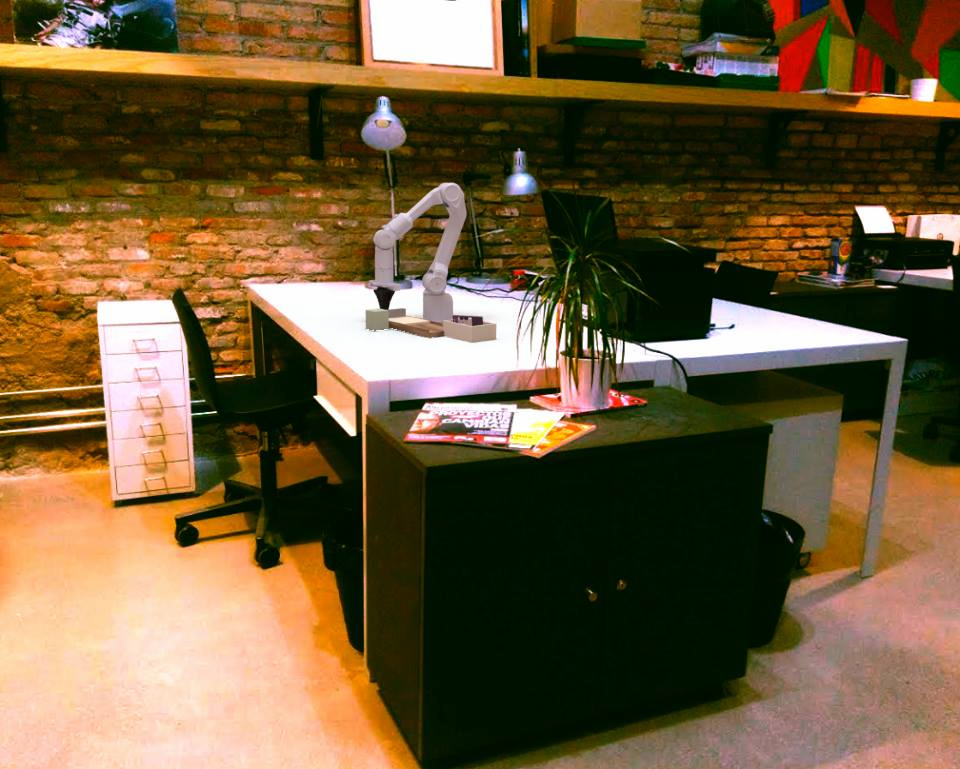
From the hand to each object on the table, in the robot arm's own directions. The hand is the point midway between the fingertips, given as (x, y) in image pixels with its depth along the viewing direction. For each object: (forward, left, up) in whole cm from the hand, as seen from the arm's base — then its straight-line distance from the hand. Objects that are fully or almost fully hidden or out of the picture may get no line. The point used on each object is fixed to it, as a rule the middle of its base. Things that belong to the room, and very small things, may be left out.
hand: (384, 311), depth 272 cm
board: (0, +18, -4) cm, 18 cm away
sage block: (+9, +10, -4) cm, 14 cm away
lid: (0, +11, -2) cm, 11 cm away
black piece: (-4, +37, -4) cm, 37 cm away
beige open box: (-5, +37, -4) cm, 37 cm away
